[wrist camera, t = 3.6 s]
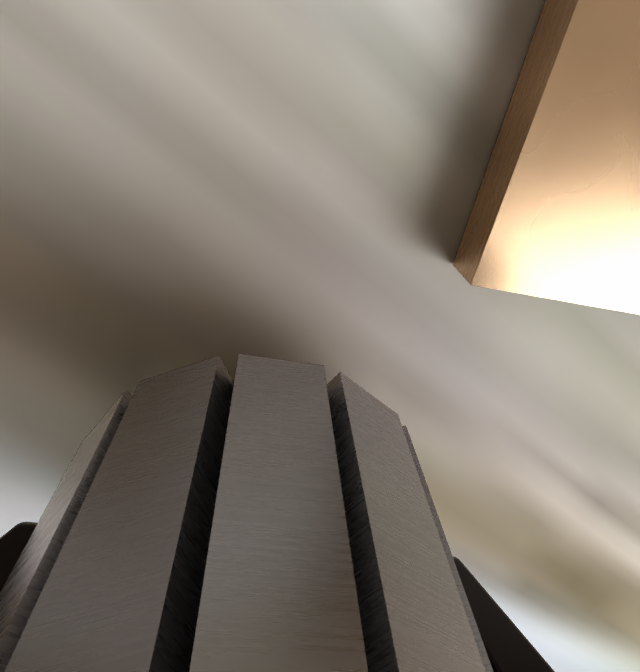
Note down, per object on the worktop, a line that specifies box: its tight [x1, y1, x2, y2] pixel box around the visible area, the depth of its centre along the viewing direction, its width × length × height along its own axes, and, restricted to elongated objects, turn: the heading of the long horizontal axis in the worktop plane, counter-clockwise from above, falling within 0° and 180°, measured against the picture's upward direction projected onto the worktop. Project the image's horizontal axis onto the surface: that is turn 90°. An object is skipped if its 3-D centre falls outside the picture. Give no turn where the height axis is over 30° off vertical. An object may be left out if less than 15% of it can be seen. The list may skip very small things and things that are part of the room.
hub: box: [0, 354, 493, 672], centre depth 7 cm, size 7×7×5 cm
